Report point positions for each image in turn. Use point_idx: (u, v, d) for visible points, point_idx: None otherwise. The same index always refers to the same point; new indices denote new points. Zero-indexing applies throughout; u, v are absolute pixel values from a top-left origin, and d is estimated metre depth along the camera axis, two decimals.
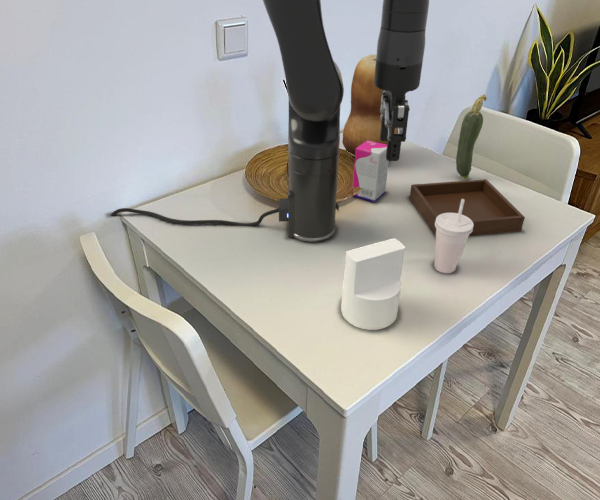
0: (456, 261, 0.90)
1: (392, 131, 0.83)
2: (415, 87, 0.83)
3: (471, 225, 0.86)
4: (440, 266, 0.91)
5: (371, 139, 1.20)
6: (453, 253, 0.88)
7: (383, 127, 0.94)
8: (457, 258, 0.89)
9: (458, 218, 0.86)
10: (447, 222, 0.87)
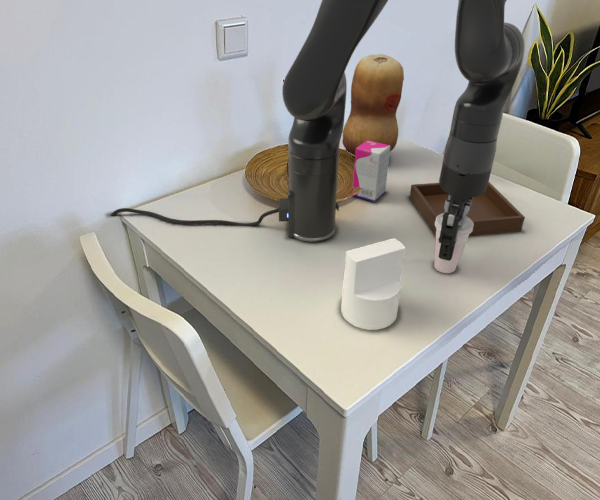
0: (456, 261, 0.90)
1: (440, 235, 0.82)
2: (476, 194, 0.80)
3: (471, 225, 0.86)
4: (440, 266, 0.91)
5: (371, 139, 1.20)
6: (453, 253, 0.88)
7: None
8: (457, 258, 0.89)
9: None
10: None
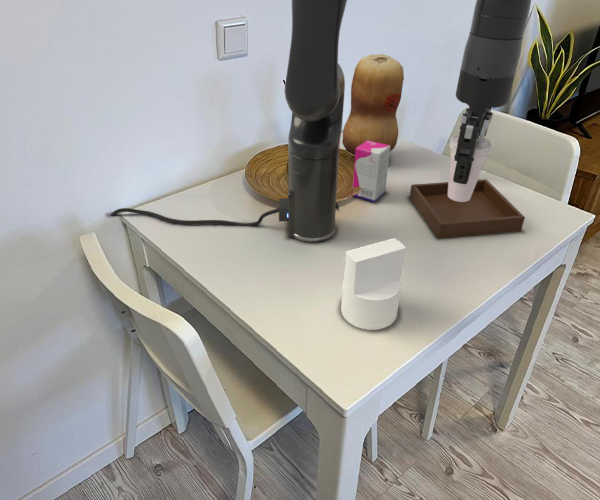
0: (472, 187, 0.82)
1: (457, 151, 0.74)
2: (498, 104, 0.72)
3: (490, 145, 0.78)
4: (454, 194, 0.83)
5: (371, 139, 1.20)
6: (469, 177, 0.80)
7: None
8: (473, 184, 0.81)
9: None
10: None
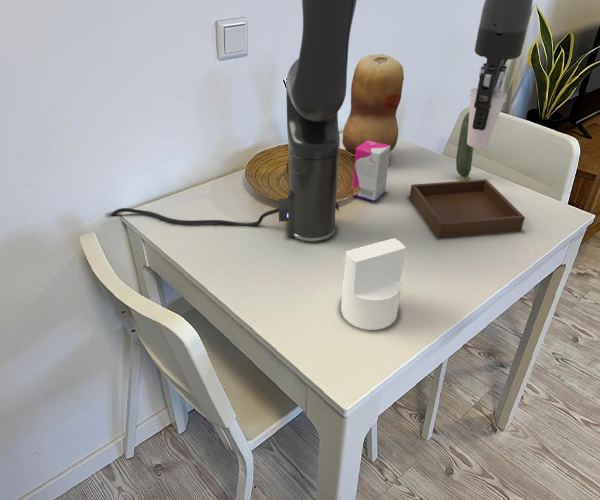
0: (489, 134, 0.93)
1: (476, 98, 0.86)
2: (512, 56, 0.83)
3: (505, 95, 0.90)
4: (473, 141, 0.94)
5: (371, 139, 1.20)
6: (486, 124, 0.91)
7: None
8: (490, 131, 0.93)
9: None
10: None
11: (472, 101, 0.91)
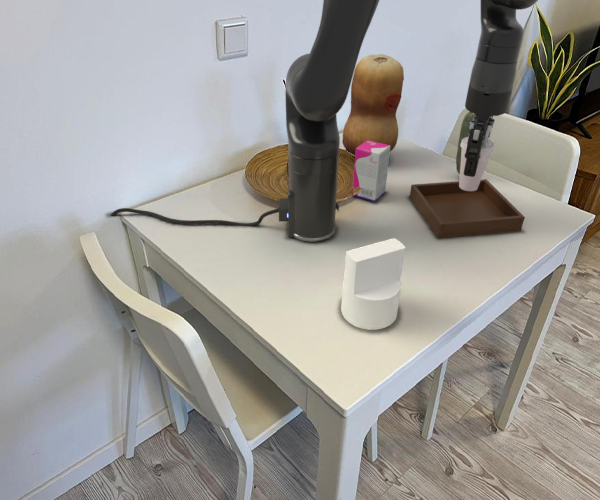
0: (479, 179, 1.02)
1: (467, 150, 0.94)
2: (498, 113, 0.92)
3: (493, 145, 0.98)
4: (464, 185, 1.03)
5: (371, 139, 1.20)
6: (476, 171, 1.00)
7: None
8: (480, 176, 1.01)
9: None
10: None
11: (463, 150, 0.99)
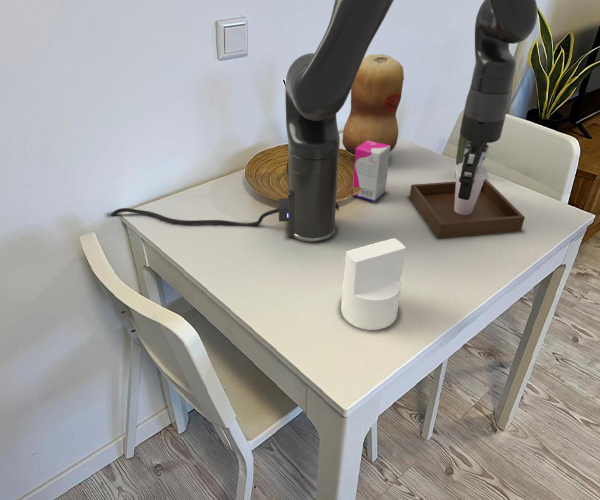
0: (473, 204, 1.05)
1: (461, 174, 0.96)
2: (492, 140, 0.95)
3: (486, 171, 1.01)
4: (459, 209, 1.06)
5: (371, 139, 1.20)
6: (471, 196, 1.03)
7: None
8: (474, 201, 1.04)
9: None
10: None
11: (458, 176, 1.02)
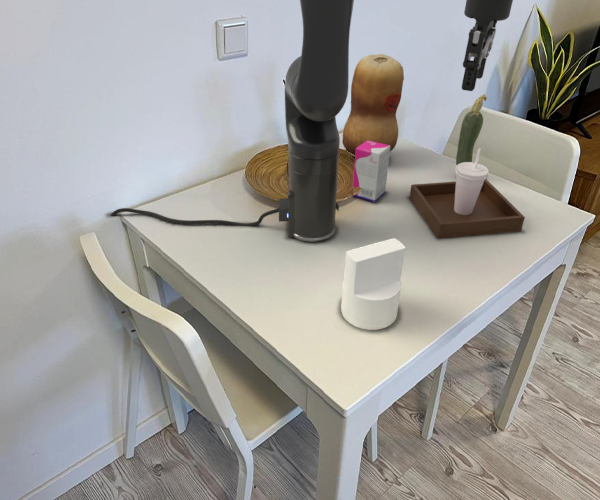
0: (473, 204, 1.05)
1: (465, 56, 0.87)
2: (500, 17, 0.86)
3: (486, 171, 1.01)
4: (459, 209, 1.06)
5: (371, 139, 1.20)
6: (471, 196, 1.03)
7: None
8: (474, 201, 1.04)
9: (475, 165, 1.01)
10: (466, 169, 1.02)
11: (458, 176, 1.02)
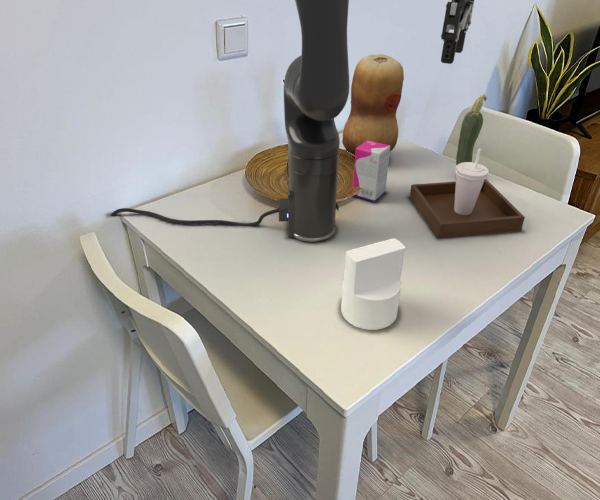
0: (473, 204, 1.05)
1: (443, 28, 0.88)
2: None
3: (486, 171, 1.01)
4: (459, 209, 1.06)
5: (371, 139, 1.20)
6: (471, 196, 1.03)
7: None
8: (474, 201, 1.04)
9: (475, 165, 1.01)
10: (466, 169, 1.02)
11: (458, 176, 1.02)
